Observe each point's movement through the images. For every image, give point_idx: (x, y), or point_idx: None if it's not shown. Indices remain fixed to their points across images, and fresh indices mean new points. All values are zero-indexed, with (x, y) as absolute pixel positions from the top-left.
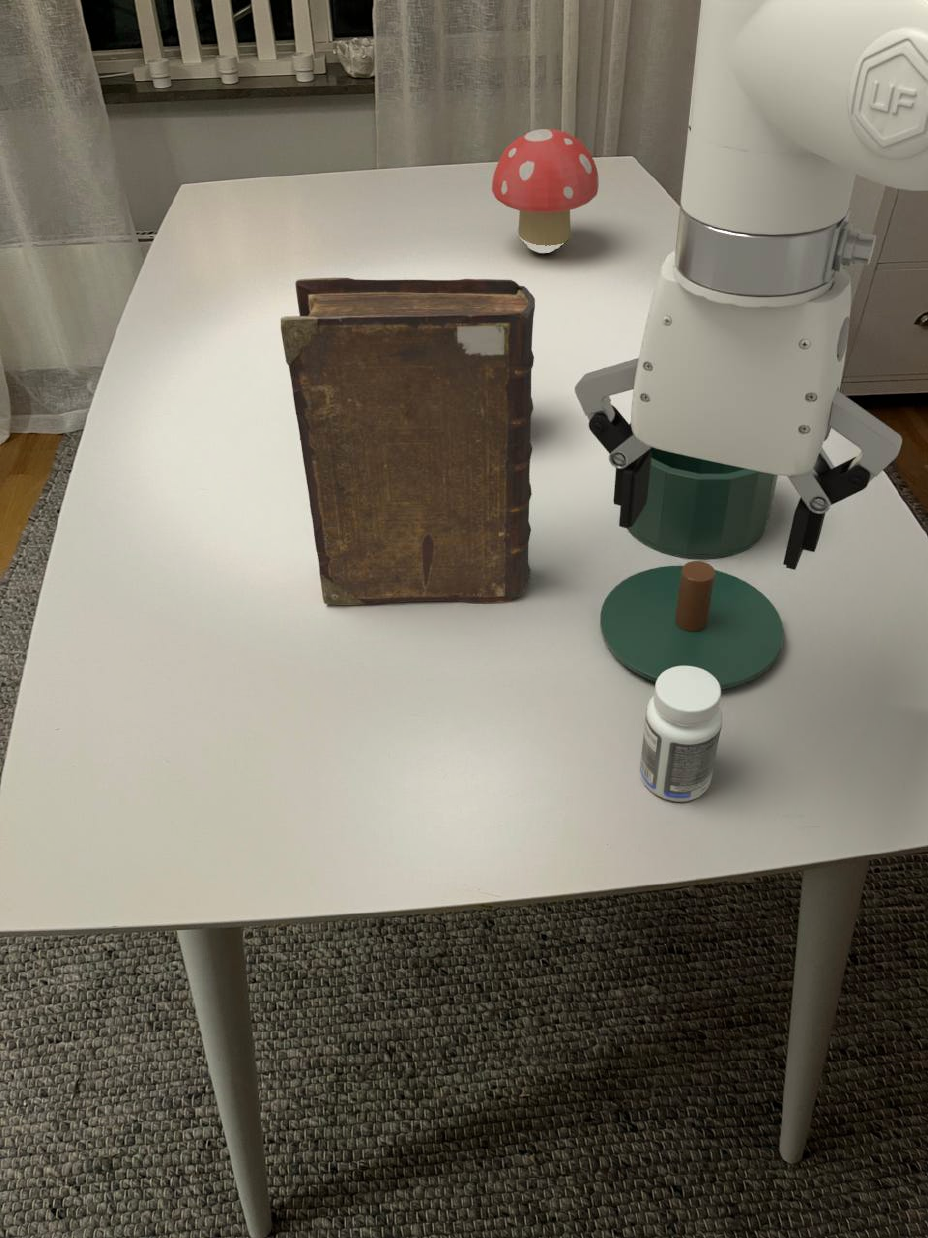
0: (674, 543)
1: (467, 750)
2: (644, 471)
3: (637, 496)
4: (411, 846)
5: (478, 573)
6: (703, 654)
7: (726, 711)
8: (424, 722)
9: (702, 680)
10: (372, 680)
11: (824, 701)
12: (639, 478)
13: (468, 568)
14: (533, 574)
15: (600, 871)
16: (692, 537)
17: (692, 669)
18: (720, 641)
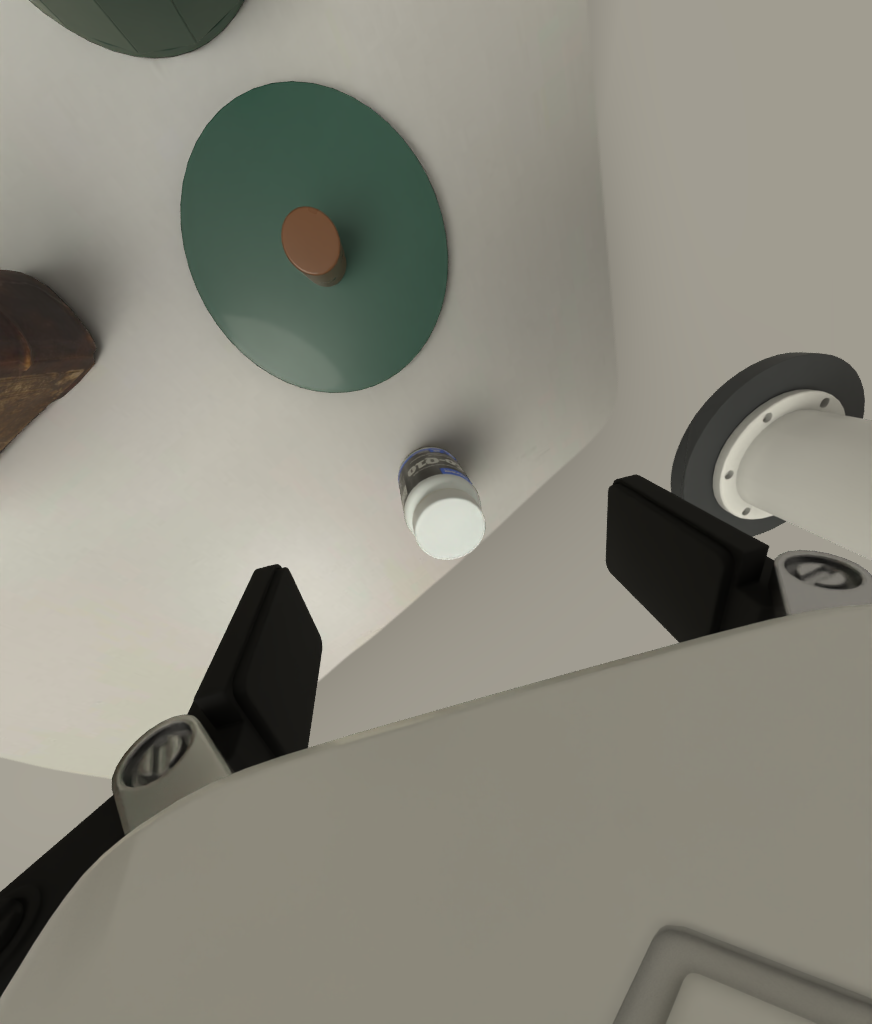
0: (161, 36)
1: (268, 560)
2: (279, 692)
3: (304, 677)
4: None
5: (27, 400)
6: (372, 317)
7: (430, 372)
8: (210, 562)
9: (459, 512)
10: (119, 557)
11: (513, 288)
12: (293, 720)
13: (9, 411)
14: (56, 279)
15: (428, 577)
16: (183, 10)
17: (441, 506)
18: (377, 278)
